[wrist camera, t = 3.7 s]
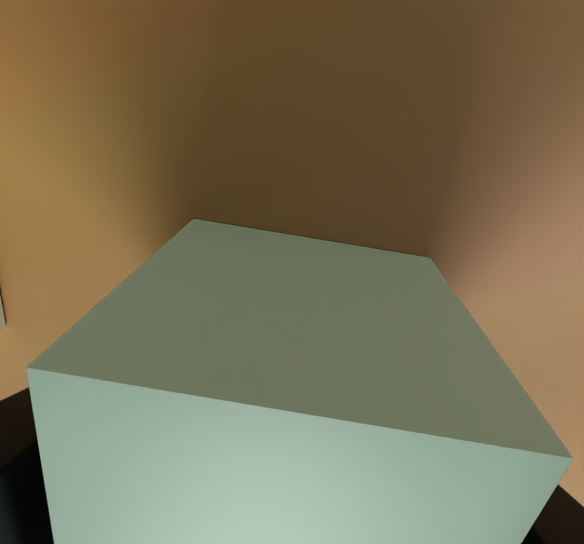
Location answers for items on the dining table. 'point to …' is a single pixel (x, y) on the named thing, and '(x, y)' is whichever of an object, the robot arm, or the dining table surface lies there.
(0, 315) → the board
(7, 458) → the robot arm
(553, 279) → the dining table surface
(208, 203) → the dining table surface
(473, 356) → the sage block
